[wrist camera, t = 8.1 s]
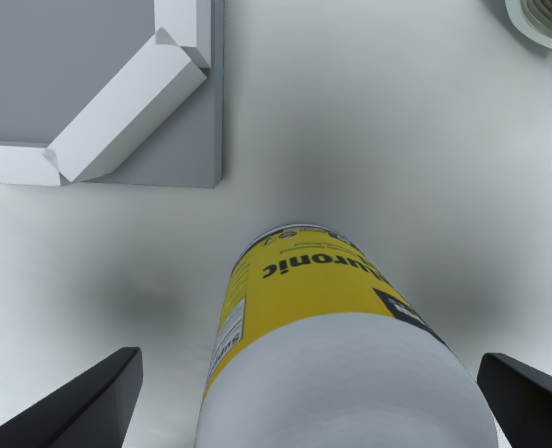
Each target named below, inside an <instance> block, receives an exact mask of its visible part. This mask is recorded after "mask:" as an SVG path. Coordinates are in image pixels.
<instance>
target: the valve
mask: <svg viewBox="0 0 552 448" xmlns="http://www.w3.org/2000/svg"><path fill="white" fill-rule="evenodd" d="M505 3H506V8H507V12H508V14H509V17H510V20H511V21H512V23H513V25H514V26H515V28H516V29H518V30H519V31H520V32H521V33H522V34H524V35H525V36H527V37H528V38H530V39H531V40H533V41H535V42H537V43H539V44H541V45H543V46H545V47H548V48H551V49H552V0H505Z"/></svg>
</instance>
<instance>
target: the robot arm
mask: <svg viewBox="0 0 552 448" xmlns="http://www.w3.org/2000/svg"><path fill="white" fill-rule="evenodd" d="M142 382H143V363H142V351H141V349H140V348H139V347H123V348H121V349H119V350H118V351H116V352H115V353H113V354H112V355H110V356H108V357H107V358H105V359H104V360H102V361H101V362H99V363H98V364H96V365H94V366H93V367H91V368H90V369H88V370H87V371H85V372H84V373H82V374H80V375H79V376H77V377H76V378H74V379H73V380H71V381H70V382H68V383H66V384H65V385H63V386H62V387H60V388H59V389H57V390H56V391H54V392H52V393H51V394H49V395H48V396H46V397H45V398H43V399H42V400H40V401H38V402H37V403H35V404H34V405H32V406H31V407H29V408H28V409H26V410H24V411H23V412H21V413H20V414H18V415H17V416H15V417H13V418H12V419H10V420H9V421H7V422H6V423H4V424H3V425H1V426H0V448H121V447H122V444H123V442H124V439H125V436H126V432H127V429H128V426H129V423H130V420H131V417H132V414H133V411H134V408H135V405H136V401H137V398H138V395H139V392H140V389H141V386H142ZM477 385H478V386H479V388H480V390H481V391H482V393H483V395H484V397H485V399H486V401H487V403H488V406H489V408H490V409H491V411H492V413H493V415H494V417H495V418H496V420H497V422H498V424H499V425H500V427H501V429H502V431H503V433H504V434H505V436H506V438H507V440H508V441H509V443H510V445H511V447H512V448H552V376H550V375H548V374H546V373H544V372H541V371H539V370H537V369H535V368H533V367H531V366H529V365H526V364H524V363H522V362H520V361H518V360H516V359H513V358H511V357H509V356H507V355H505V354H502V353H485V354H484V355H483V357H482V360H481V364H480V367H479V371H478V375H477Z"/></svg>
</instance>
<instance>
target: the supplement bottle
mask: <svg viewBox="0 0 552 448" xmlns="http://www.w3.org/2000/svg"><path fill="white" fill-rule="evenodd" d="M194 448H498V438H497V432H496V427H495V423H494V419H493V416H492V414H491V411H490V408H489V406H488V403H487V401H486V399H485V397H484V395H483V393H482V391H481V390H480V388H479V386H478V385H477V383H476V382H475V380H474V379H473V377H472V376H471V375H470V373H469V372H468V371H467V370H466V368H465V367H464V366H463V365H462V364H461V363H460V361H459V360H458V359H457V357H456V356H455V355H454V354H453V353H452V352H451V351H450V349H449V348H448V347H447V345H446V344H445V342H444V341H443V340H442V339H441V338H440V337H438V336H437V335H436V334H435V333H434V332H433V330H432V329H431V328H430V327H429V326H428V325H427V324H426V323H425V322H424V321H423V320H422V319H421V317H420V316H419V315H418V314H417V313H416V312H415V311H414V310H413V309H412V308H411V307H410V306H409V304H408V303H407V302H406V301H405V300H404V299H403V298H402V297H401V296H400V295H399V293H398V292H397V291H396V290H395V289H394V288H393V287H392V286H391V285H390V283H389V282H388V281H387V280H386V279H385V278H384V277H383V276H382V275H381V274H380V272H379V271H378V270H377V269H376V268H375V267H374V266H373V265H372V264H371V263H370V262H369V260H368V259H367V258H366V257H365V256H364V254H363V253H362V252H361V251H360V250H359V249H358V248H357V247H356V246H355V245H353V244H352V243H351V242H350V241H349V240H348V239H346V238H345V237H343V236H342V235H340V234H339V233H337V232H335V231H333V230H331V229H328V228H325V227H322V226H318V225H312V224H292V225H286V226H282V227H279V228H276V229H273V230H271V231H269V232H267V233H265V234H263V235H261V236H260V237H258V238H257V239H256V240H255V241H253V242H252V243H251V244H250V245H249V246H248V247H247V248H246V249H245V250H244V252H243V253H242V254H241V256H240V257H239V259H238V261H237V262H236V264H235V266H234V268H233V271H232V273H231V276H230V280H229V283H228V288H227V292H226V297H225V301H224V305H223V310H222V314H221V319H220V323H219V327H218V332H217V337H216V341H215V346H214V350H213V355H212V360H211V365H210V369H209V373H208V378H207V383H206V387H205V391H204V395H203V400H202V404H201V409H200V414H199V419H198V425H197V432H196V438H195V447H194Z"/></svg>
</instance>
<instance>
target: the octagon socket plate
mask: <svg viewBox="0 0 552 448" xmlns="http://www.w3.org/2000/svg"><path fill="white" fill-rule="evenodd" d="M223 50H224V0H0V183H1V184H21V185H42V186H64V185H68V184H72V183H76V182H94V183H115V184H135V185H156V186H176V187H196V188H215V187H216V185H217V184H218V183H219V182H220V181H221V180H222V124H223Z"/></svg>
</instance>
